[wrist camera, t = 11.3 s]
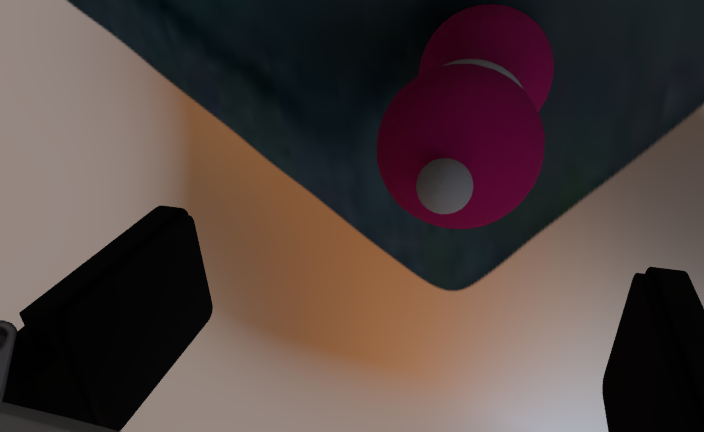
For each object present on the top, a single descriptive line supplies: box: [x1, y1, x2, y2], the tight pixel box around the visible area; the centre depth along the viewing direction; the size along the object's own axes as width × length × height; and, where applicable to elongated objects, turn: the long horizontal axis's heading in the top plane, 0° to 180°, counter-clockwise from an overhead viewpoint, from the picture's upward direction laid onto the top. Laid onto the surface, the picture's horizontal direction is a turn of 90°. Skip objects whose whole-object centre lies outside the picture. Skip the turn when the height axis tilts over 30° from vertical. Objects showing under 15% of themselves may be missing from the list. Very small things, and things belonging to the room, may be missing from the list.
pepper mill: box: [377, 4, 554, 229], centre depth 23 cm, size 7×7×20 cm
